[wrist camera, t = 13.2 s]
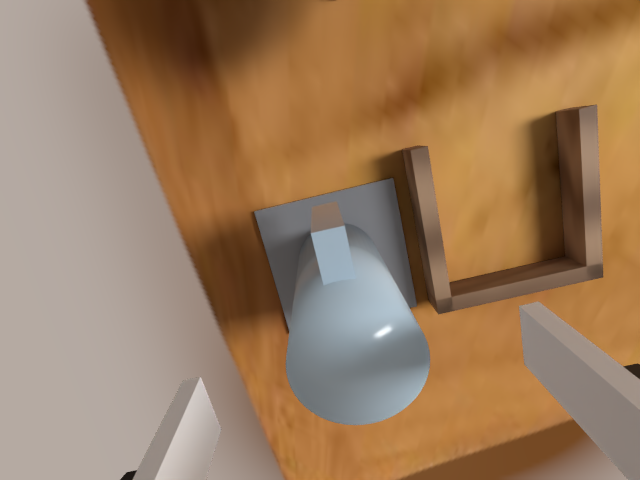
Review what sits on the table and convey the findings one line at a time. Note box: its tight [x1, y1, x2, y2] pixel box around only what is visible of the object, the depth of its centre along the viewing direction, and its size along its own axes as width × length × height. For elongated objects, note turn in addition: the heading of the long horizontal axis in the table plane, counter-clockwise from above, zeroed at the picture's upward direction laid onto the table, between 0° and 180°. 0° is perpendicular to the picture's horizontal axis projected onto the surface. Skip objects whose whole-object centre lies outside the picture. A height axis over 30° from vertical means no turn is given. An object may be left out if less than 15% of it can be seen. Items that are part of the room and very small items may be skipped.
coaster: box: [254, 178, 417, 332], centre depth 30 cm, size 11×11×1 cm
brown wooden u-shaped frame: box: [402, 105, 603, 314], centre depth 28 cm, size 13×13×2 cm
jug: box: [286, 201, 430, 425], centre depth 23 cm, size 6×9×14 cm
